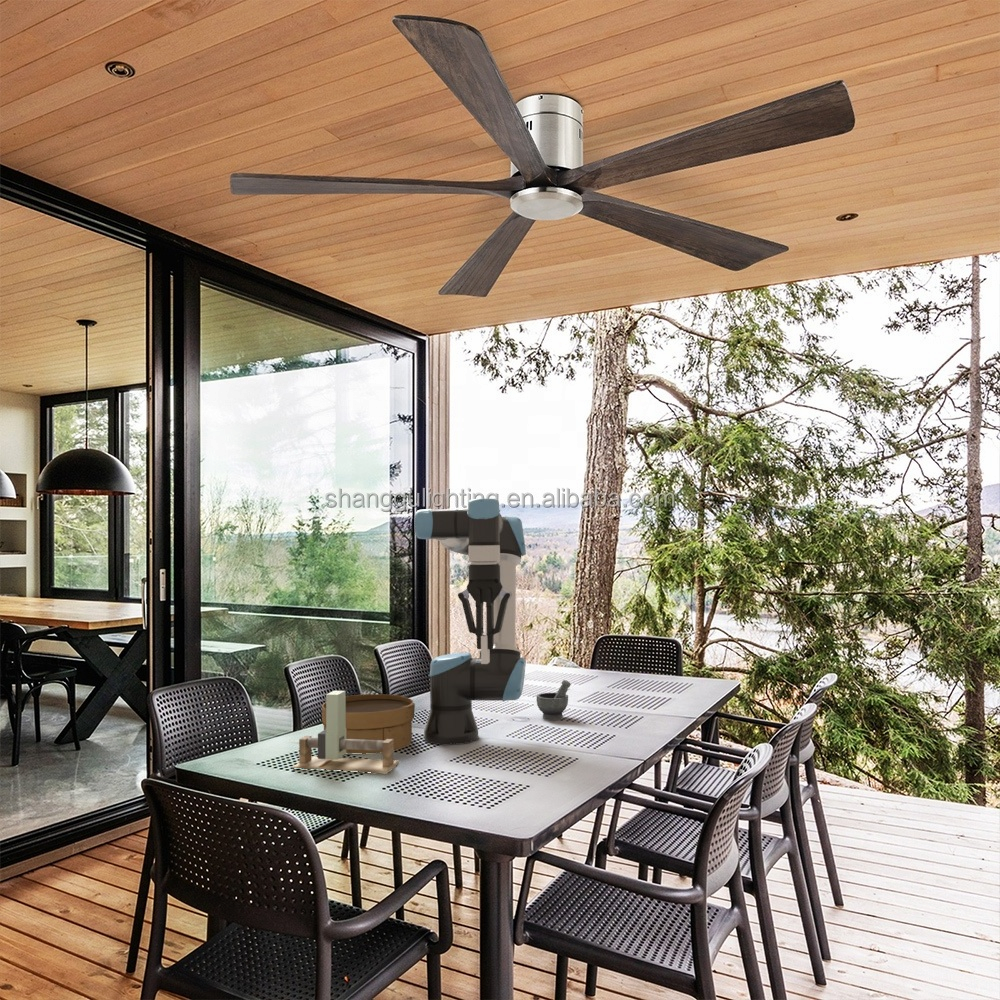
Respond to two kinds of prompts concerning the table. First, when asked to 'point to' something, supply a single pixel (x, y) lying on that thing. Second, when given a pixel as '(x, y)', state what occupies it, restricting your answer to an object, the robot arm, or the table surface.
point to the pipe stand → (349, 763)
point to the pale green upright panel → (335, 724)
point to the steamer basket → (378, 719)
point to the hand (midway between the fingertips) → (485, 662)
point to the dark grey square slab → (321, 744)
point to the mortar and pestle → (554, 702)
